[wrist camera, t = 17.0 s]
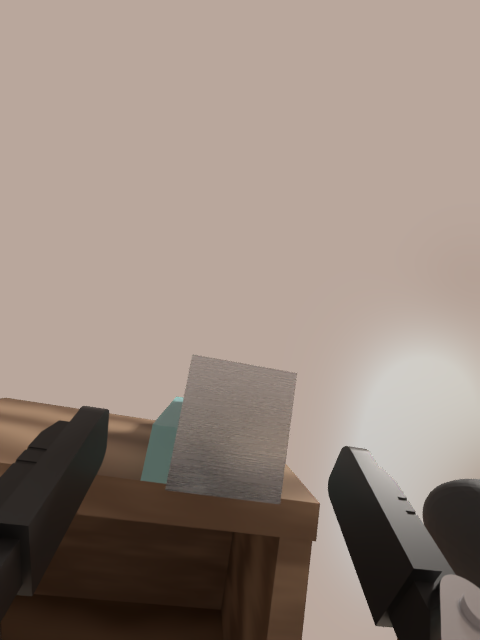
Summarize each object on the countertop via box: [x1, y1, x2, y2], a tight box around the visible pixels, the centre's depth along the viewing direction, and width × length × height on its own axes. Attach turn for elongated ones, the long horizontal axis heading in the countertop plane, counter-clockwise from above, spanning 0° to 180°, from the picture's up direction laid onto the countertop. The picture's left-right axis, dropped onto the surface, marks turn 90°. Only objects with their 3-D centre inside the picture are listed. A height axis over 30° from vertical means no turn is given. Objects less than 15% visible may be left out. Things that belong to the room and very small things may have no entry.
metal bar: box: [165, 355, 297, 504], centre depth 18 cm, size 20×4×4 cm, turn 8°
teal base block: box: [140, 397, 184, 484], centre depth 23 cm, size 15×7×3 cm, turn 8°
